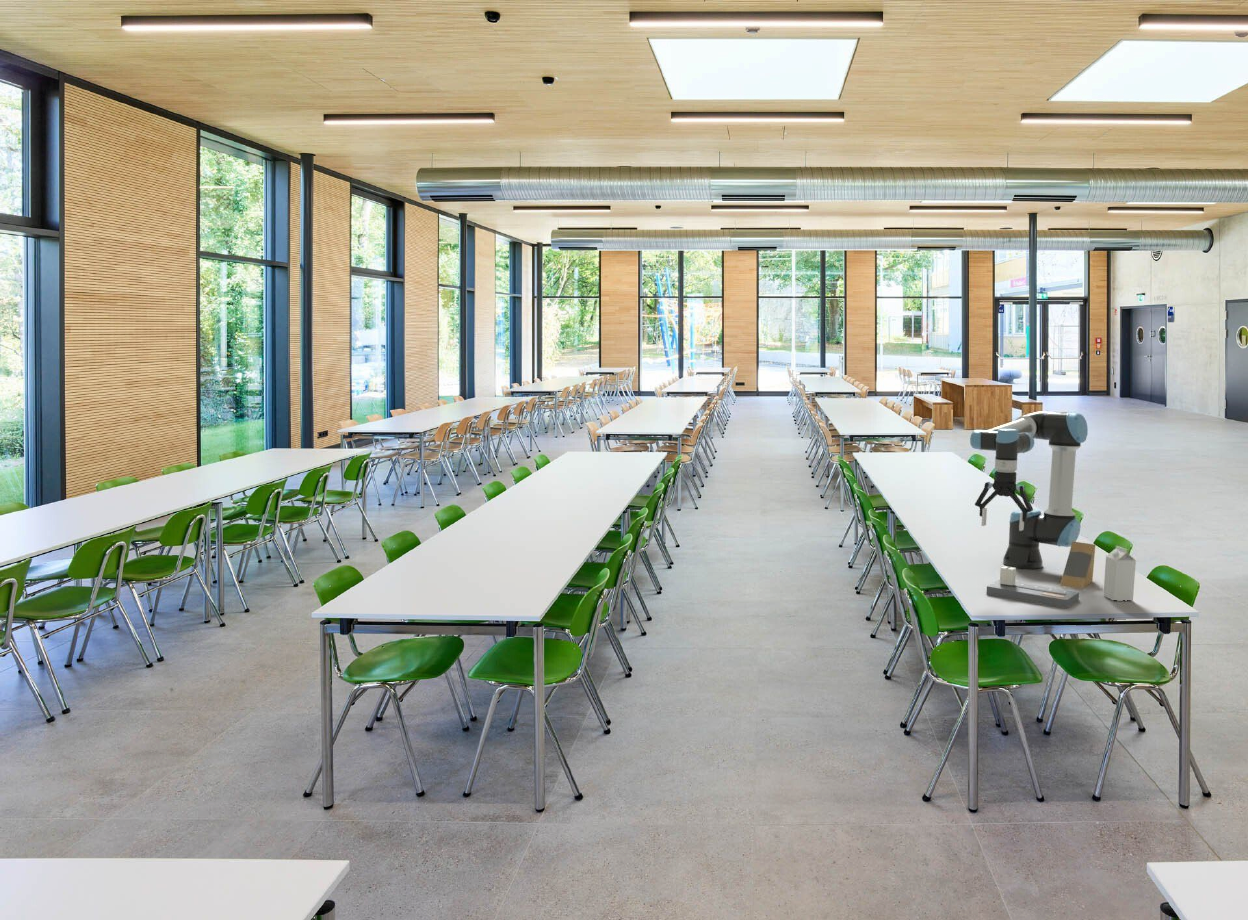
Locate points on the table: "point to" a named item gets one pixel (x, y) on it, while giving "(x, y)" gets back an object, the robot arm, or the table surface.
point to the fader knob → (1007, 575)
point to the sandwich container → (1079, 566)
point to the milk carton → (1119, 575)
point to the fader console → (1034, 594)
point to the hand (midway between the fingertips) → (1002, 527)
